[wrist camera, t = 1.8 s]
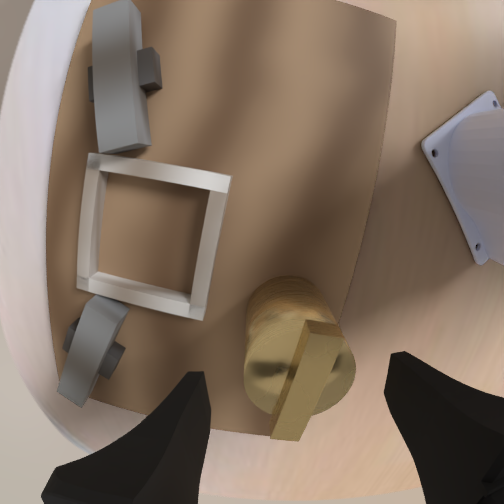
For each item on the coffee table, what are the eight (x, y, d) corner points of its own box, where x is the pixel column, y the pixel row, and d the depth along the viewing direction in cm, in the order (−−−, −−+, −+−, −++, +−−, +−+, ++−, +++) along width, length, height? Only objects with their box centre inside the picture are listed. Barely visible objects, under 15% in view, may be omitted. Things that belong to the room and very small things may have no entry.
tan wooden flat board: (388, 28, 14) (414, 4, 10) (294, 426, 21) (299, 462, 18) (104, -7, 13) (81, -31, 10) (67, 378, 20) (46, 405, 17)
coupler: (258, 260, 16) (261, 324, 10) (337, 277, 17) (385, 343, 10) (237, 344, 18) (230, 433, 11) (310, 357, 18) (334, 443, 11)
